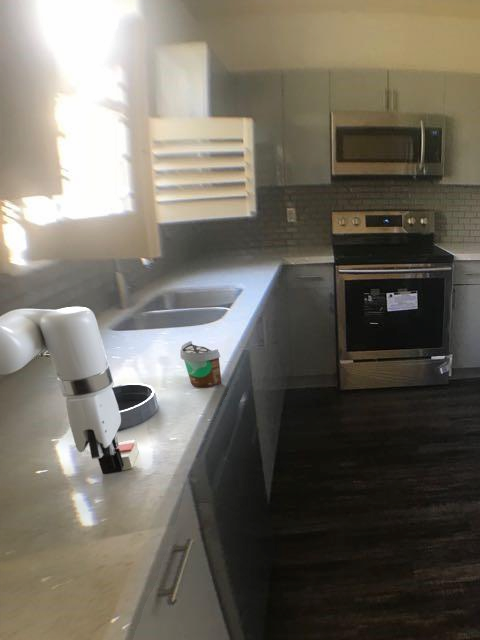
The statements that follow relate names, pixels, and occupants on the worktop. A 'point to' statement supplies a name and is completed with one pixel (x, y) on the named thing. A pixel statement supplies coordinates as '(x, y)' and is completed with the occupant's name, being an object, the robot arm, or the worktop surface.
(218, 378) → the food container
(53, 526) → the worktop surface
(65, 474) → the worktop surface
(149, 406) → the pan
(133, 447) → the block
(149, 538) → the worktop surface
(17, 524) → the worktop surface
